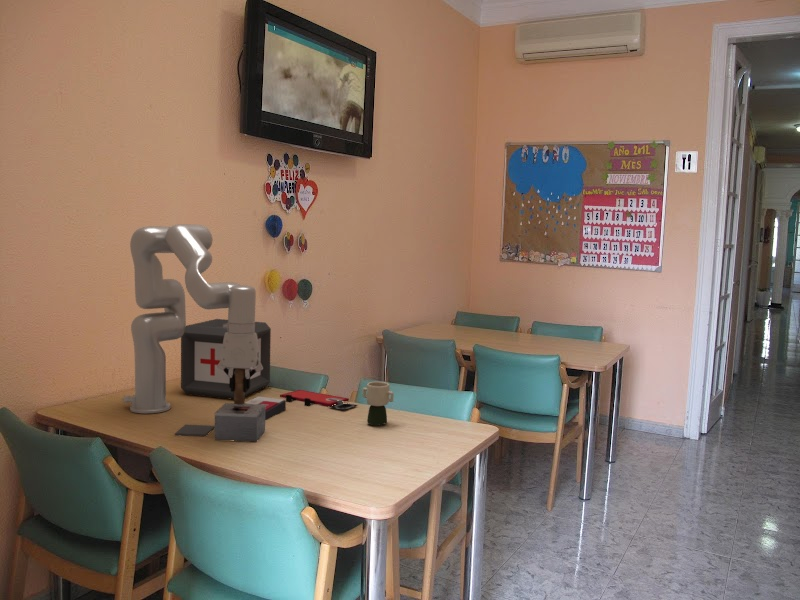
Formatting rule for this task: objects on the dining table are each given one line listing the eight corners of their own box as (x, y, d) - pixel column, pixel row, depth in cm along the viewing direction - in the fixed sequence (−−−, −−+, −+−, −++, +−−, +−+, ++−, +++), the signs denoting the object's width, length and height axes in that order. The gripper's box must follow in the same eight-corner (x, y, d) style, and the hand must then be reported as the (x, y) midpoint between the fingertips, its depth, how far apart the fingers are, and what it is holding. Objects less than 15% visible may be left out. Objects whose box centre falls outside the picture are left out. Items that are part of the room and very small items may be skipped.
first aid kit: (214, 380, 267) (214, 317, 265) (272, 386, 261) (273, 322, 258) (177, 395, 243) (177, 325, 241) (240, 401, 237) (241, 330, 234)
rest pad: (174, 435, 197) (174, 433, 197) (185, 426, 206) (185, 424, 206) (205, 436, 197) (205, 434, 196) (214, 427, 205) (214, 425, 205)
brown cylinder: (232, 404, 197) (233, 363, 195) (235, 401, 200) (236, 361, 198) (243, 404, 197) (244, 363, 195) (245, 401, 200) (246, 361, 198)
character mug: (397, 424, 216) (398, 384, 214) (387, 429, 209) (388, 388, 208) (367, 419, 220) (368, 379, 219) (356, 424, 214) (357, 383, 213)
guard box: (214, 440, 193) (214, 412, 193) (225, 429, 204) (225, 403, 204) (256, 441, 193) (256, 414, 192) (265, 430, 204) (265, 404, 203)
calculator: (232, 407, 217) (257, 394, 231) (233, 420, 218) (257, 406, 232) (263, 411, 214) (286, 398, 228) (263, 424, 214) (286, 410, 228)
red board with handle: (340, 413, 227) (365, 405, 239) (340, 405, 226) (366, 397, 239) (272, 400, 242) (300, 393, 255) (272, 392, 242) (300, 386, 255)
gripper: (209, 328, 192) (207, 392, 194) (266, 332, 192) (264, 395, 194) (216, 325, 200) (215, 386, 202) (272, 328, 199) (270, 389, 201)
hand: (239, 390), depth 198 cm, fingers closed on brown cylinder, 3 cm apart
